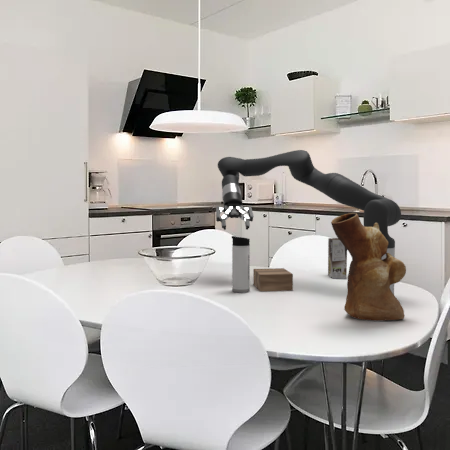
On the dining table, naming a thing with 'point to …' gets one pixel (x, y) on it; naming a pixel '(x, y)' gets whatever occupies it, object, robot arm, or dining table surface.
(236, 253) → the travel mug
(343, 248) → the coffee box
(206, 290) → the dining table surface
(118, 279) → the dining table surface
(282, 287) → the walnut block
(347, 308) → the ceramic vessel
